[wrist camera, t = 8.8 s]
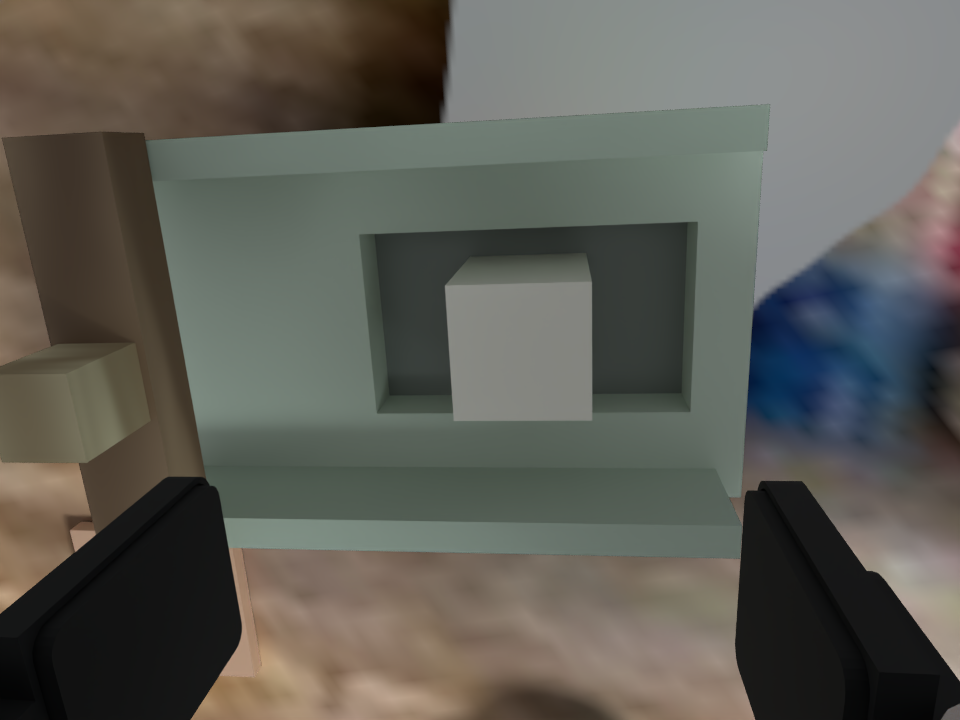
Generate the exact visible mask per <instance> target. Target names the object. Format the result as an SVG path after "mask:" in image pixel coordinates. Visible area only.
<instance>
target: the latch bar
mask: <svg viewBox="0 0 960 720" xmlns="http://www.w3.org/2000/svg"><path fill="white" fill-rule="evenodd" d="M2 140H3V145H4V149H5V153H6V157H7V162H8V166H9V170H10V174H11V178H12V183H13V187H14V191H15V195H16V200H17V204H18V208H19V212H20V216H21V221H22V225H23V229H24V233H25V238H26V242H27V246H28V250H29V255H30V259H31V263H32V267H33V271H34V276H35V280H36V284H37V288H38V293H39V297H40V301H41V305H42V309H43V314H44V318H45V322H46V326H47V331H48V335H49V339H50V343H51V347H49V348H46V349H44V350H41V351H39V352H36V353H34V354H31V355H28V356H26V357H23V358H21V359H18V360H15V361H13V362H10V363H8V364H5V365H3V366H0V456H1V460H2V462H19V463H79V466H80V470H81V474H82V479H83V483H84V487H85V491H86V495H87V500H88V504H89V508H90V512H91V517H92V521H93V525H94V529H95V533H96V534H98V533H99V532H100V531H101V530H102V529H104V528H105V527H106V526H107V525H109V524H110V523H111V522H112V521H113V520H115V519H116V518H117V517H118V516H119V515H121V514H122V513H123V512H124V511H125V510H127V509H128V508H129V507H130V506H132V505H133V504H134V503H135V502H136V501H138V500H139V499H140V498H141V497H142V496H144V495H145V494H146V493H147V492H148V491H150V490H151V489H152V488H153V487H155V486H156V485H157V484H158V483H159V482H161V481H162V480H163V479H165V478H166V477H204V478H205V479H206V475H205V470H204V464H203V459H202V453H201V447H200V442H199V436H198V431H197V425H196V420H195V414H194V409H193V403H192V397H191V392H190V386H189V381H188V375H187V370H186V364H185V359H184V353H183V347H182V342H181V336H180V331H179V325H178V320H177V314H176V309H175V303H174V298H173V292H172V286H171V281H170V275H169V270H168V264H167V259H166V253H165V248H164V242H163V236H162V231H161V225H160V220H159V214H158V209H157V203H156V198H155V192H154V187H153V181H152V175H151V170H150V164H149V159H148V153H147V148H146V142H145V137H144V133H121V132H91V133H74V134H57V135H41V136H24V137H7V138H2Z"/></svg>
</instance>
